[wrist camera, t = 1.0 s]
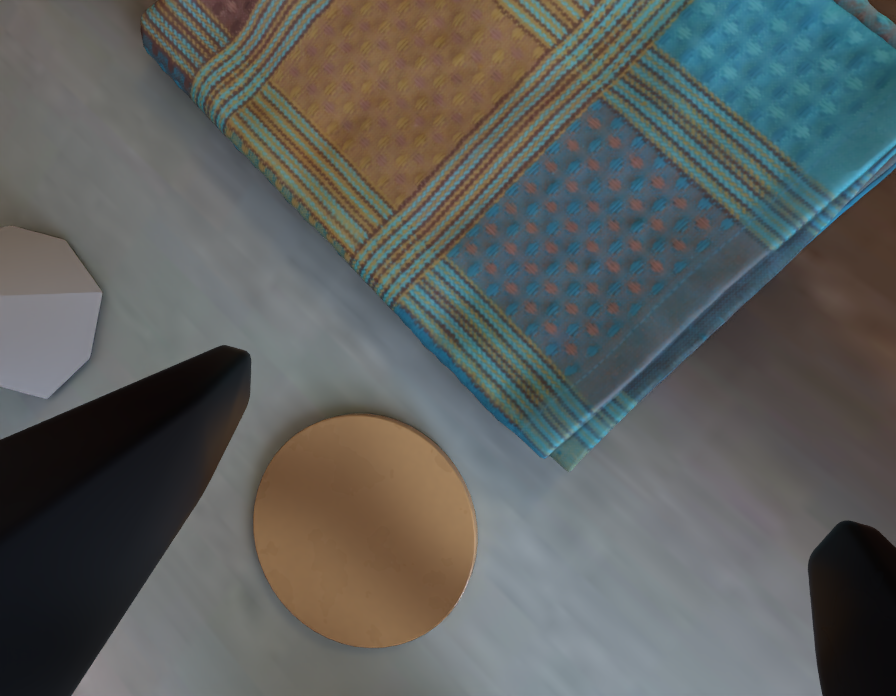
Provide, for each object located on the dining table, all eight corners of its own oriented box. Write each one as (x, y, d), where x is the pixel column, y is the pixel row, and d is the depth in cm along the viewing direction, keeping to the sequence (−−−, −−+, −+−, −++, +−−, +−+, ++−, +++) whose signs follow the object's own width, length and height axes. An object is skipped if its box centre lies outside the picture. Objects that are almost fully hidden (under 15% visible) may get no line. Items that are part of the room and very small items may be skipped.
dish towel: (564, 478, 23) (561, 498, 20) (150, 60, 26) (103, 32, 23) (959, 107, 20) (1013, 76, 17) (434, -320, 23) (415, -399, 20)
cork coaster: (437, 679, 24) (434, 687, 24) (234, 589, 26) (227, 594, 25) (508, 460, 23) (507, 463, 23) (292, 382, 25) (286, 383, 24)
